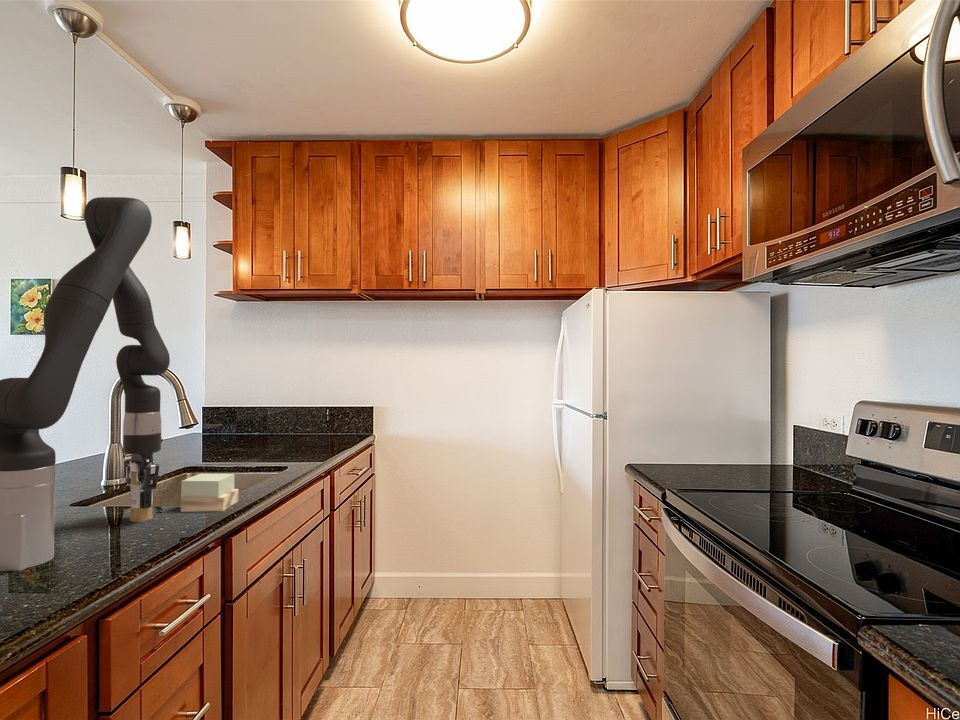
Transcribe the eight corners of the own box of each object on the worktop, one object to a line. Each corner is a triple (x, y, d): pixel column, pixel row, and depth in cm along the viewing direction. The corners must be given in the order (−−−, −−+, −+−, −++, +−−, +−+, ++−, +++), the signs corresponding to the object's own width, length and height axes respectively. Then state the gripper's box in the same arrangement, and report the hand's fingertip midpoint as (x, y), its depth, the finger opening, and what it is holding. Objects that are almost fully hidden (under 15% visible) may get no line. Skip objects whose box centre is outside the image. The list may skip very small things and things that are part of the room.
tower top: (218, 497, 135) (218, 481, 135) (181, 497, 135) (181, 480, 135) (234, 489, 144) (234, 473, 144) (199, 489, 144) (199, 473, 144)
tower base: (223, 514, 135) (223, 497, 135) (180, 514, 134) (180, 498, 134) (238, 504, 145) (238, 488, 145) (198, 504, 144) (199, 488, 144)
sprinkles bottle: (155, 520, 127) (155, 461, 128) (132, 524, 124) (133, 464, 124) (149, 516, 131) (150, 459, 131) (127, 520, 128) (128, 461, 128)
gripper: (172, 432, 126) (171, 508, 126) (148, 427, 135) (147, 498, 135) (135, 435, 120) (134, 515, 120) (113, 430, 129) (112, 503, 129)
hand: (141, 505), depth 128 cm, fingers closed on sprinkles bottle, 4 cm apart
